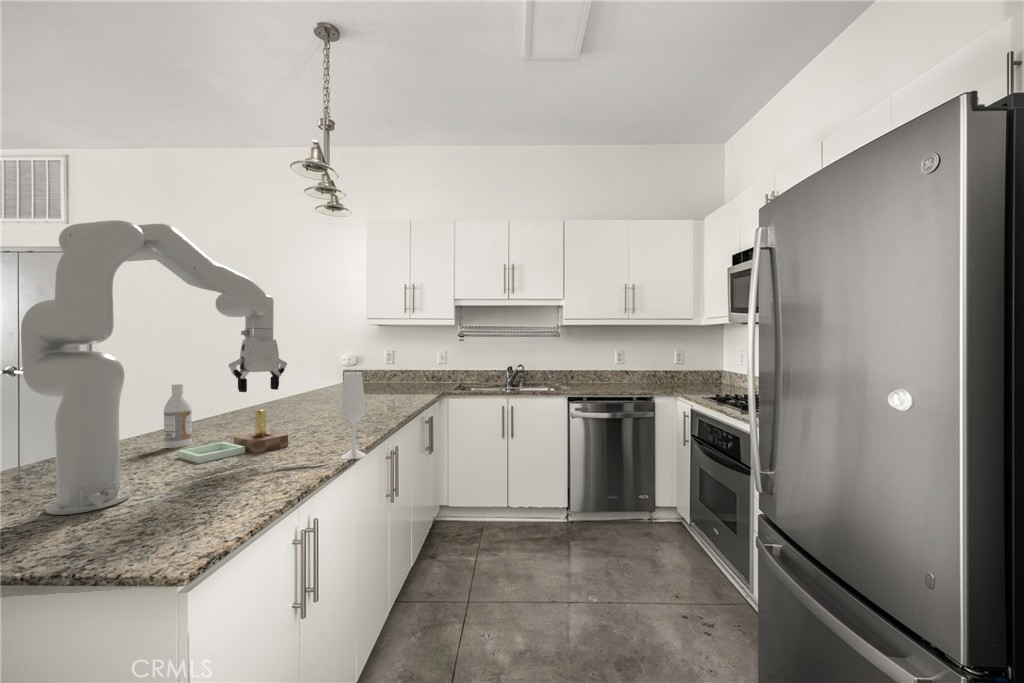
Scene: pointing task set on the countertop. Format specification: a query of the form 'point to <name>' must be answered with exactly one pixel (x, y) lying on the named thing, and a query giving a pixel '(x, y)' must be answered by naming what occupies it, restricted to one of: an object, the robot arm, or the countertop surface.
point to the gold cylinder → (260, 423)
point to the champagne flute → (353, 407)
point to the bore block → (262, 442)
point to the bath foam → (177, 419)
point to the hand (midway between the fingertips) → (259, 390)
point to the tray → (211, 452)
